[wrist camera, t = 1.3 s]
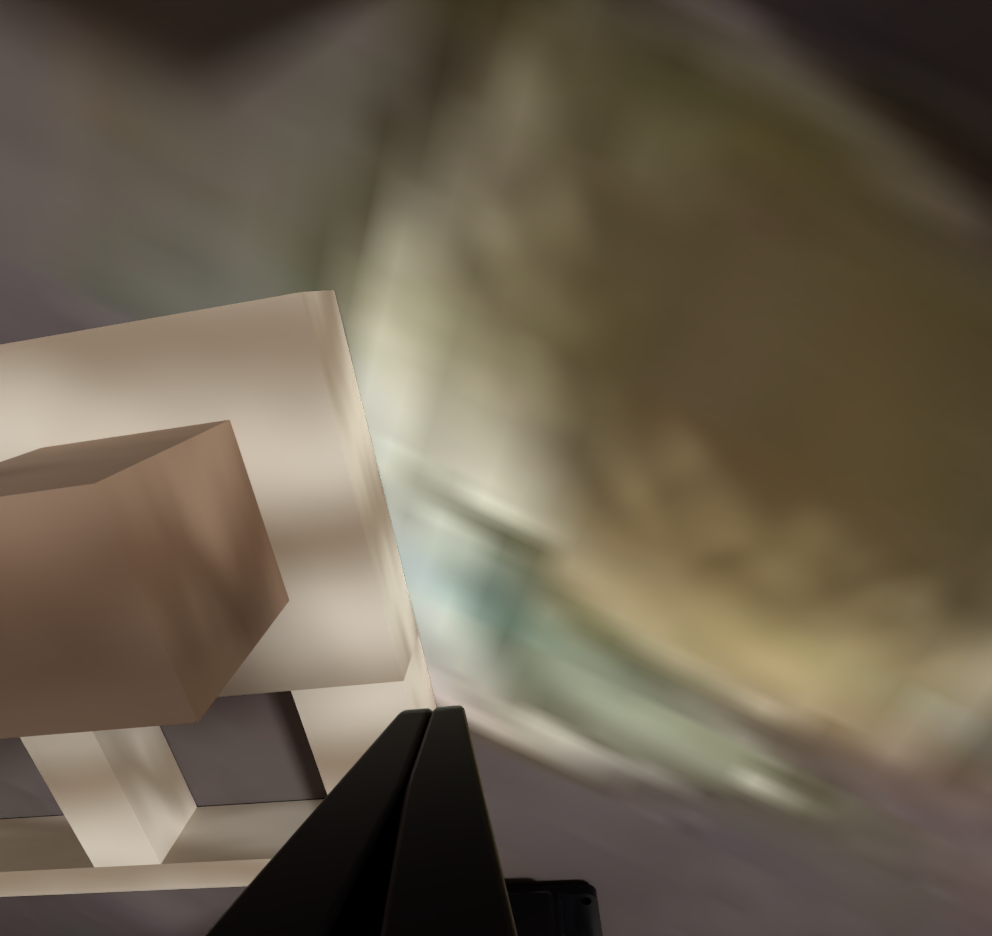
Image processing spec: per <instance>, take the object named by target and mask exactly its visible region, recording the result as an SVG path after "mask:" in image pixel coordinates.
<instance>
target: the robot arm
mask: <svg viewBox="0 0 992 936" xmlns="http://www.w3.org/2000/svg"><path fill="white" fill-rule="evenodd" d="M204 936H603V935H602V928H601V921H600V914H599V907H598V900H597V893H596V889H595V888H594V887H593V886H592V885H589V884H566V885H542V886H518V887H506V884H505V880H504V876H503V871H502V867H501V863H500V859H499V854H498V850H497V846H496V842H495V837H494V833H493V829H492V825H491V820H490V816H489V812H488V808H487V803H486V799H485V795H484V791H483V786H482V782H481V778H480V774H479V769H478V765H477V761H476V757H475V753H474V748H473V744H472V740H471V736H470V731H469V727H468V723H467V719H466V714H465V710H464V708H463V707H462V706H447V707H437V708H435V709H434V710H433V711H432V710H431V709H429V708H422V709H409V710H404V711H402V712H400V713H399V714H398V715H397V716H396V717H395V718H394V720H393V721H392V722H391V723H390V724H389V725H388V726H387V728H386V729H385V730H384V731H383V732H382V733H381V734H380V736H379V737H378V738H377V739H376V740H375V741H374V742H373V744H372V745H371V746H370V747H369V748H368V749H367V750H366V752H365V753H364V754H363V755H362V756H361V757H360V758H359V760H358V761H357V762H356V763H355V764H354V765H353V766H352V768H351V769H350V770H349V771H348V772H347V773H346V774H345V776H344V777H343V778H342V779H341V780H340V781H339V782H338V784H337V785H336V786H335V787H334V788H333V789H332V790H331V792H330V793H329V794H328V795H327V796H326V797H325V798H324V800H323V801H322V802H321V803H320V804H319V805H318V806H317V808H316V809H315V810H314V811H313V812H312V813H311V814H310V816H309V817H308V818H307V819H306V820H305V821H304V822H303V824H302V825H301V826H300V827H299V828H298V829H297V830H296V832H295V833H294V834H293V835H292V836H291V837H290V838H289V840H288V841H287V842H286V843H285V844H284V845H283V846H282V848H281V849H280V850H279V851H278V852H277V853H276V854H275V855H274V857H273V858H272V859H271V860H270V861H269V862H268V863H267V865H266V866H265V867H264V868H263V869H262V870H261V871H260V873H259V874H258V875H257V876H256V877H255V878H254V879H253V881H252V882H251V883H250V884H249V885H248V886H247V887H246V889H245V890H244V891H243V892H242V893H241V894H240V895H239V897H238V898H237V899H236V900H235V901H234V902H233V903H232V905H231V906H230V907H229V908H228V909H227V910H226V911H225V913H224V914H223V915H222V916H221V917H220V918H219V919H218V921H217V922H216V923H215V924H214V925H213V926H212V927H211V929H210V930H209V931H208V932H207V933H206V934H205V935H204Z"/></svg>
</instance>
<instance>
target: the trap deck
mask: <svg viewBox="0 0 992 936" xmlns="http://www.w3.org/2000/svg"><path fill="white" fill-rule="evenodd" d="M224 420H230V422H231V425H232V428H233V431H234V434H235V437H236V440H237V443H238V446H239V449H240V452H241V455H242V458H243V461H244V464H245V467H246V470H247V473H248V476H249V479H250V482H251V485H252V488H253V492H254V495H255V498H256V501H257V504H258V507H259V510H260V513H261V516H262V519H263V522H264V525H265V528H266V531H267V534H268V537H269V540H270V543H271V546H272V549H273V552H274V555H275V558H276V561H277V564H278V567H279V570H280V573H281V576H282V579H283V582H284V585H285V588H286V591H287V594H288V598H289V602H288V603H287V604H286V606H285V607H284V608H283V610H282V611H281V612H280V614H279V615H278V616H277V618H276V619H275V620H274V622H273V623H272V624H271V626H270V627H269V628H268V630H267V631H266V632H265V634H264V635H263V636H262V638H261V639H260V640H259V642H258V643H257V644H256V646H255V647H254V648H253V650H252V651H251V652H250V654H249V655H248V656H247V658H246V659H245V660H244V662H243V663H242V664H241V666H240V667H239V668H238V670H237V671H236V672H235V674H234V675H233V676H232V678H231V679H230V680H229V682H228V683H227V684H226V686H225V687H224V688H223V690H222V691H221V692H220V694H219V695H218V696H217V697H225V696H236V695H248V694H259V693H271V692H282V691H291V693H292V696H293V698H294V701H295V704H296V707H297V710H298V713H299V716H300V718H301V721H302V724H303V727H304V730H305V733H306V735H307V738H308V741H309V744H310V747H311V750H312V753H313V755H314V758H315V761H316V764H317V767H318V770H319V772H320V775H321V778H322V781H323V784H324V787H325V789H326V792H327V795H328V794H329V793H330V792H331V790H332V789H333V788H334V787H335V786H336V785H337V784H338V782H339V781H340V780H341V779H342V778H343V777H344V776H345V774H346V773H347V772H348V771H349V770H350V769H351V768H352V766H353V765H354V764H355V763H356V762H357V761H358V760H359V758H360V757H361V756H362V755H363V754H364V753H365V752H366V750H367V749H368V748H369V747H370V746H371V745H372V744H373V742H374V741H375V740H376V739H377V738H378V737H379V736H380V734H381V733H382V732H383V731H384V730H385V729H386V728H387V726H388V725H389V724H390V723H391V722H392V721H393V720H394V718H395V717H396V716H397V715H398V714H399V713H400V712H402V711H404V710H409V709H422V708H429V709H431V710H432V711H433V710H434V709H435V708H437V707H436V703H435V699H434V695H433V691H432V687H431V683H430V679H429V675H428V671H427V666H426V662H425V658H424V654H423V650H422V646H421V642H420V638H419V634H418V630H417V626H416V622H415V618H414V614H413V609H412V605H411V601H410V597H409V593H408V589H407V585H406V581H405V577H404V573H403V569H402V565H401V561H400V557H399V552H398V548H397V544H396V540H395V536H394V532H393V528H392V524H391V520H390V516H389V512H388V508H387V504H386V499H385V495H384V491H383V487H382V483H381V479H380V475H379V471H378V467H377V463H376V459H375V455H374V451H373V447H372V442H371V438H370V434H369V430H368V426H367V422H366V418H365V414H364V410H363V406H362V402H361V398H360V394H359V390H358V385H357V381H356V377H355V373H354V369H353V365H352V361H351V357H350V353H349V349H348V345H347V341H346V337H345V332H344V328H343V324H342V320H341V316H340V312H339V308H338V304H337V300H336V296H335V292H334V290H327V291H312V292H299V293H293V294H288V295H282V296H276V297H271V298H265V299H259V300H253V301H248V302H242V303H236V304H231V305H225V306H219V307H213V308H208V309H202V310H196V311H191V312H185V313H179V314H173V315H168V316H162V317H156V318H151V319H145V320H139V321H133V322H128V323H122V324H116V325H111V326H105V327H99V328H93V329H88V330H82V331H76V332H71V333H65V334H59V335H53V336H48V337H42V338H36V339H30V340H25V341H19V342H13V343H8V344H2V345H0V462H2V461H5V460H8V459H11V458H13V457H16V456H19V455H22V454H25V453H28V452H31V451H33V450H36V449H39V448H43V447H50V446H57V445H63V444H70V443H77V442H83V441H90V440H97V439H103V438H110V437H117V436H124V435H130V434H137V433H144V432H150V431H157V430H164V429H171V428H177V427H184V426H191V425H197V424H204V423H211V422H218V421H224ZM20 739H21V740H22V742H23V744H24V746H25V747H26V749H27V751H28V753H29V754H30V756H31V758H32V760H33V761H34V763H35V765H36V767H37V768H38V770H39V772H40V774H41V775H42V777H43V779H44V780H45V782H46V784H47V786H48V787H49V789H50V791H51V793H52V794H53V796H54V798H55V800H56V801H57V803H58V805H59V807H60V808H61V810H62V812H63V814H64V815H62V816H46V817H30V818H14V819H0V897H8V896H31V895H54V894H77V893H99V892H122V891H145V890H168V889H191V888H213V887H236V886H248V885H249V884H250V883H251V882H252V881H253V879H254V878H255V877H256V876H257V875H258V874H259V873H260V871H261V870H262V869H263V868H264V867H265V866H266V865H267V863H268V862H269V861H270V860H271V859H272V858H273V857H274V855H275V854H276V853H277V852H278V851H279V850H280V849H281V848H282V846H283V845H284V844H285V843H286V842H287V841H288V840H289V838H290V837H291V836H292V835H293V834H294V833H295V832H296V830H297V829H298V828H299V827H300V826H301V825H302V824H303V822H304V821H305V820H306V819H307V818H308V817H309V816H310V814H311V813H312V812H313V811H314V810H315V809H316V808H317V806H318V805H319V804H320V803H321V802H322V801H323V800H324V799H319V800H303V801H287V802H271V803H255V804H239V805H223V806H207V807H197V806H196V804H195V802H194V800H193V798H192V795H191V793H190V791H189V789H188V787H187V785H186V782H185V780H184V778H183V776H182V774H181V772H180V769H179V767H178V765H177V763H176V761H175V759H174V756H173V754H172V752H171V750H170V748H169V746H168V743H167V741H166V739H165V737H164V735H163V733H162V730H161V728H160V726H151V727H139V728H126V729H114V730H102V731H89V732H77V733H65V734H53V735H40V736H28V737H20Z"/></svg>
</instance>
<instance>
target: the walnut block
mask: <svg viewBox="0 0 992 936" xmlns="http://www.w3.org/2000/svg"><path fill="white" fill-rule="evenodd" d="M288 602H289V598H288V594H287V591H286V588H285V585H284V582H283V579H282V576H281V573H280V570H279V567H278V564H277V561H276V558H275V555H274V552H273V549H272V546H271V543H270V540H269V537H268V534H267V531H266V528H265V525H264V522H263V519H262V516H261V513H260V510H259V507H258V504H257V501H256V498H255V495H254V492H253V488H252V485H251V482H250V479H249V476H248V473H247V470H246V467H245V464H244V461H243V458H242V455H241V452H240V449H239V446H238V443H237V440H236V437H235V434H234V431H233V428H232V425H231V422H230V420H224V421H218V422H211V423H204V424H197V425H191V426H184V427H177V428H171V429H164V430H157V431H150V432H144V433H137V434H130V435H124V436H117V437H110V438H103V439H97V440H90V441H83V442H77V443H70V444H63V445H57V446H50V447H43V448H39V449H36V450H33V451H31V452H28V453H25V454H22V455H19V456H16V457H13V458H11V459H8V460H5V461H2V462H0V739H3V738H16V737H28V736H40V735H53V734H65V733H77V732H89V731H102V730H114V729H126V728H139V727H151V726H163V725H175V724H188V723H198V722H199V720H200V719H201V718H202V716H203V715H204V714H205V712H206V711H207V710H208V708H209V707H210V706H211V704H212V703H213V702H214V700H215V699H216V698H217V696H218V695H219V694H220V692H221V691H222V690H223V688H224V687H225V686H226V684H227V683H228V682H229V680H230V679H231V678H232V676H233V675H234V674H235V672H236V671H237V670H238V668H239V667H240V666H241V664H242V663H243V662H244V660H245V659H246V658H247V656H248V655H249V654H250V652H251V651H252V650H253V648H254V647H255V646H256V644H257V643H258V642H259V640H260V639H261V638H262V636H263V635H264V634H265V632H266V631H267V630H268V628H269V627H270V626H271V624H272V623H273V622H274V620H275V619H276V618H277V616H278V615H279V614H280V612H281V611H282V610H283V608H284V607H285V606H286V604H287V603H288Z"/></svg>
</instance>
